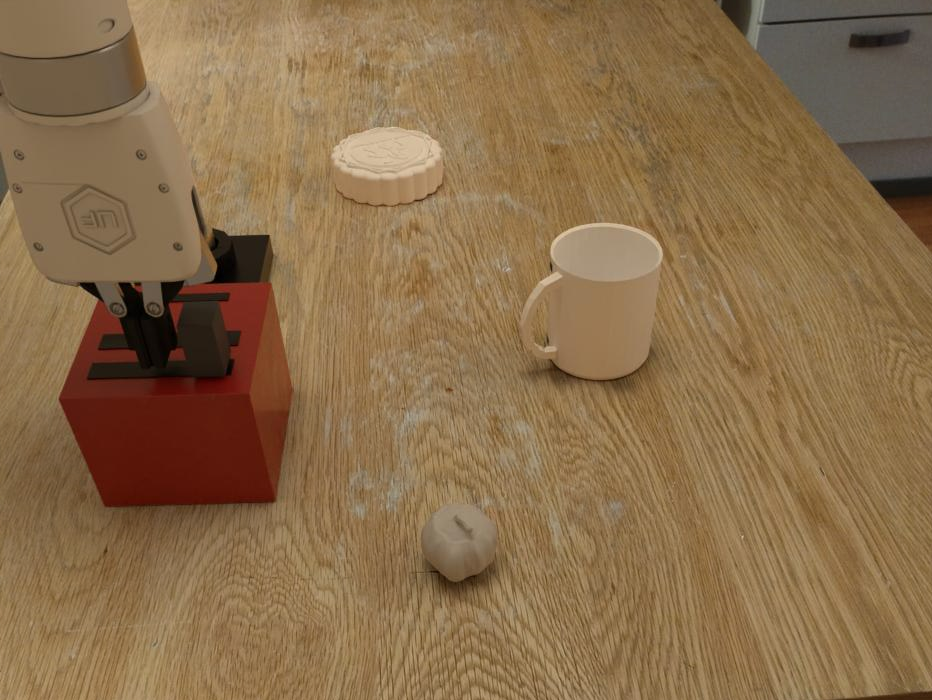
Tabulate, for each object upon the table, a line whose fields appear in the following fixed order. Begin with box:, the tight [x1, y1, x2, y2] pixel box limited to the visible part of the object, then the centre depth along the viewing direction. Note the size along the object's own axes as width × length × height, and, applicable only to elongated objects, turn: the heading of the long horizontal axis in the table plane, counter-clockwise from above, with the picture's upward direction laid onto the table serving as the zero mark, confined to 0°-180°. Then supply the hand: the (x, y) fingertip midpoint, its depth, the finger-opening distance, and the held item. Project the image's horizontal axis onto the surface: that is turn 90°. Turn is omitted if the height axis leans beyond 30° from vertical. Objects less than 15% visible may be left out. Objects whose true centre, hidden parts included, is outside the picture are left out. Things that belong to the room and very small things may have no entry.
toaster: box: [58, 281, 294, 508], centre depth 74 cm, size 13×14×10 cm
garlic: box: [420, 501, 499, 583], centre depth 67 cm, size 6×5×5 cm
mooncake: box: [330, 125, 444, 207], centre depth 104 cm, size 12×12×4 cm
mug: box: [519, 222, 664, 381], centre depth 81 cm, size 12×9×9 cm
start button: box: [206, 222, 216, 252], centre depth 89 cm, size 4×4×2 cm
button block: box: [134, 227, 275, 286], centre depth 91 cm, size 12×10×4 cm
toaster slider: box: [176, 301, 231, 377], centre depth 65 cm, size 2×3×4 cm
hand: (157, 356), depth 66 cm, fingers closed
